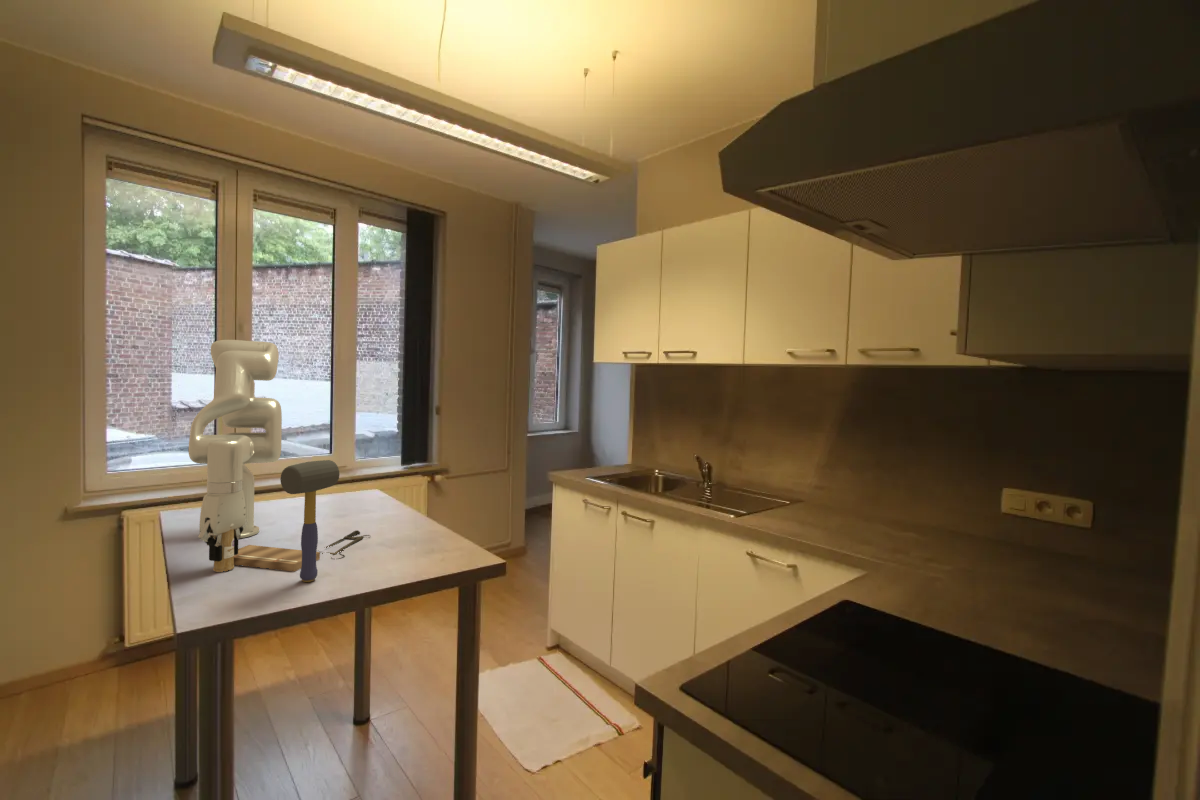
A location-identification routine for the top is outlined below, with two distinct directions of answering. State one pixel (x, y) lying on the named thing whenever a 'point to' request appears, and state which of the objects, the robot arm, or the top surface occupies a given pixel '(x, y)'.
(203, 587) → the top surface
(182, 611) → the top surface
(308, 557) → the rubber mallet
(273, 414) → the robot arm
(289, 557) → the board
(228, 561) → the sprinkles bottle
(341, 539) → the hacksaw
